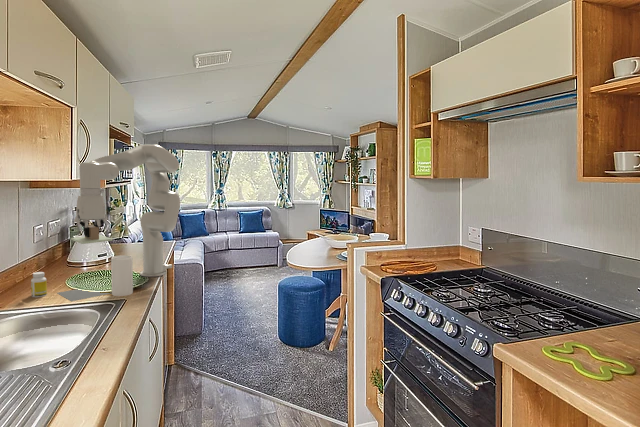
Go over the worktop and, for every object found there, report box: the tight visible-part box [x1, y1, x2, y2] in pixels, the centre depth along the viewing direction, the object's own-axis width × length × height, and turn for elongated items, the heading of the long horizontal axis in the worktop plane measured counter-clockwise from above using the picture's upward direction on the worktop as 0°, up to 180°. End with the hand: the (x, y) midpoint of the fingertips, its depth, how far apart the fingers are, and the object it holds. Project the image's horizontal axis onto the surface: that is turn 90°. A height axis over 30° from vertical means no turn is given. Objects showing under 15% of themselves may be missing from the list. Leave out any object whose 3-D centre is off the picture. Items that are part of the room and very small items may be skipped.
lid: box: [70, 224, 114, 245], centre depth 184 cm, size 12×12×6 cm
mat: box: [56, 288, 112, 302], centre depth 187 cm, size 16×16×1 cm
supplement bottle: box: [30, 271, 48, 298], centre depth 181 cm, size 5×5×10 cm
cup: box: [110, 254, 134, 297], centre depth 188 cm, size 8×8×16 cm
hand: (91, 235), depth 185 cm, fingers closed on lid, 3 cm apart
